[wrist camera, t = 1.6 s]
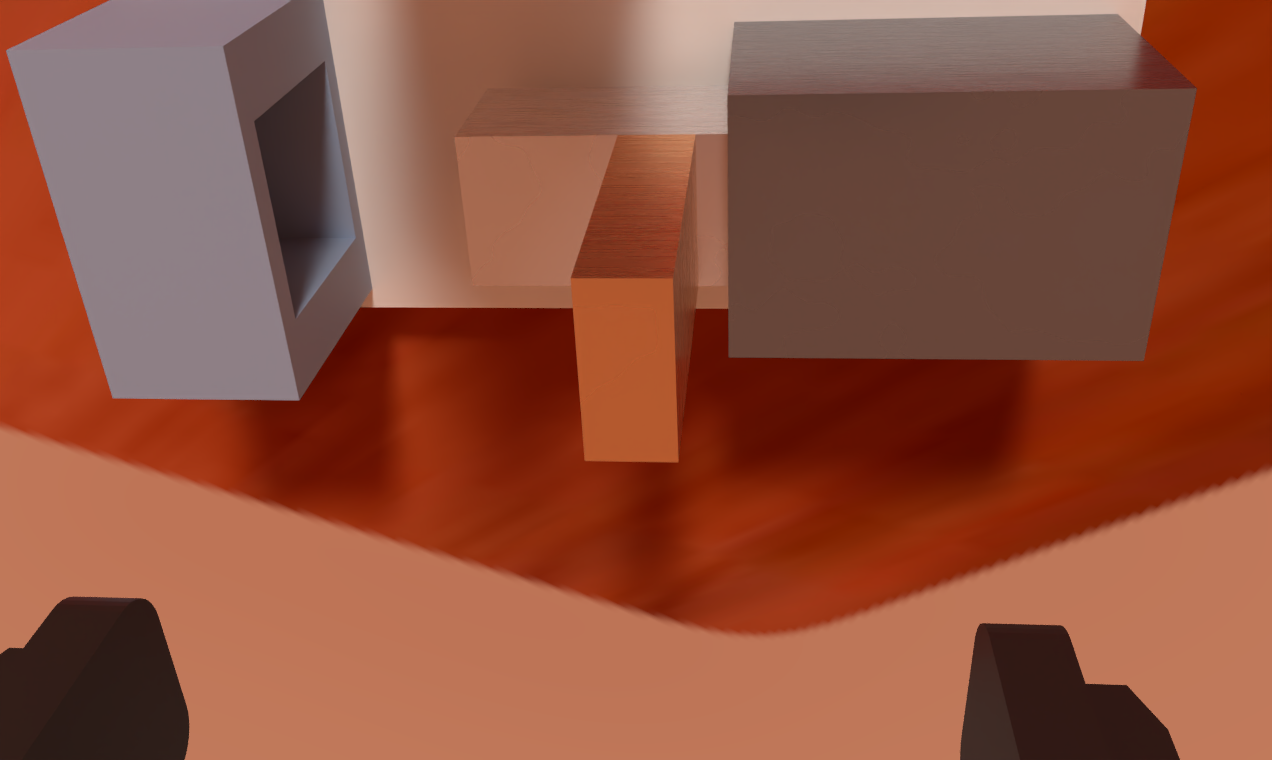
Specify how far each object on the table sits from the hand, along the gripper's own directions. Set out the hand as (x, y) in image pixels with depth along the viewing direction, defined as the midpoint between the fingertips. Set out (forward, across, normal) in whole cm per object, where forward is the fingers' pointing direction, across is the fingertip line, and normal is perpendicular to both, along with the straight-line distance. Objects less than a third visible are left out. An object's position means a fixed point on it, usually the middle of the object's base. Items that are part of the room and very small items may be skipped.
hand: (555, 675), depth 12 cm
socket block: (+16, +9, 0) cm, 18 cm away
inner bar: (+15, -3, 0) cm, 15 cm away
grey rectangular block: (+16, -5, 0) cm, 17 cm away
